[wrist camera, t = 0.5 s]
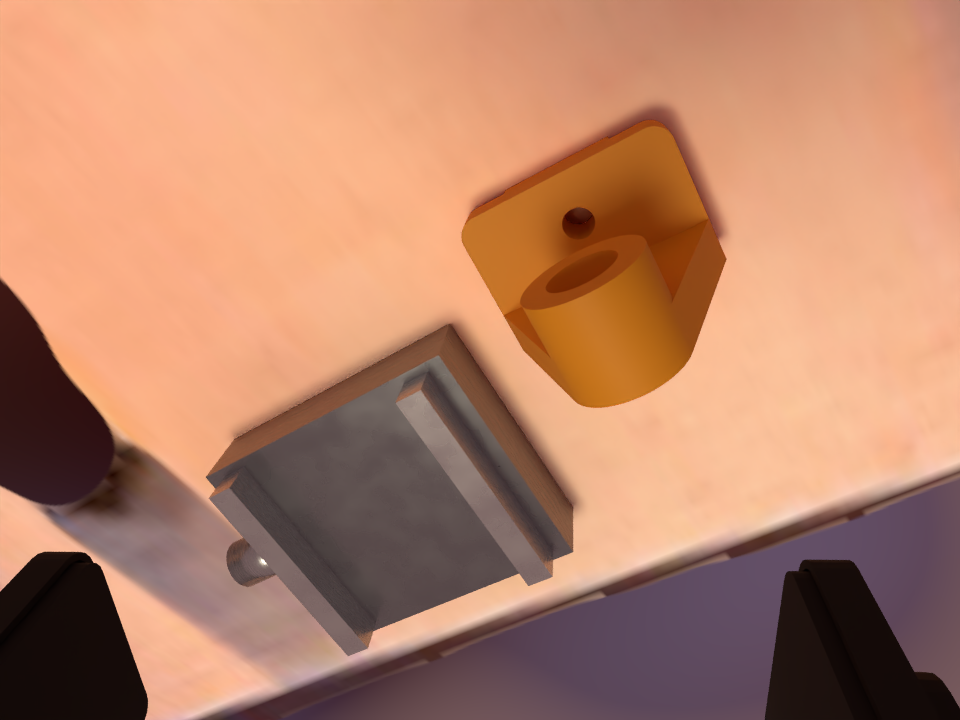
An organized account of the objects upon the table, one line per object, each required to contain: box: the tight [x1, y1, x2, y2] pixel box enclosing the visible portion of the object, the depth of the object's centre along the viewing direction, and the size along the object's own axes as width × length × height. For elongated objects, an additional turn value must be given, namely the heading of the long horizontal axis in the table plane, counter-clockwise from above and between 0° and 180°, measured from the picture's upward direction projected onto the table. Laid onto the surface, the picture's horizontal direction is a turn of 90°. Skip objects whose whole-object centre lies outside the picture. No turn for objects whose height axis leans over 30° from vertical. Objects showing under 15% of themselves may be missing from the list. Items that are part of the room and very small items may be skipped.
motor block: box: [206, 324, 573, 656], centre depth 43 cm, size 20×14×6 cm
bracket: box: [462, 120, 726, 408], centre depth 32 cm, size 11×7×12 cm, turn 119°
